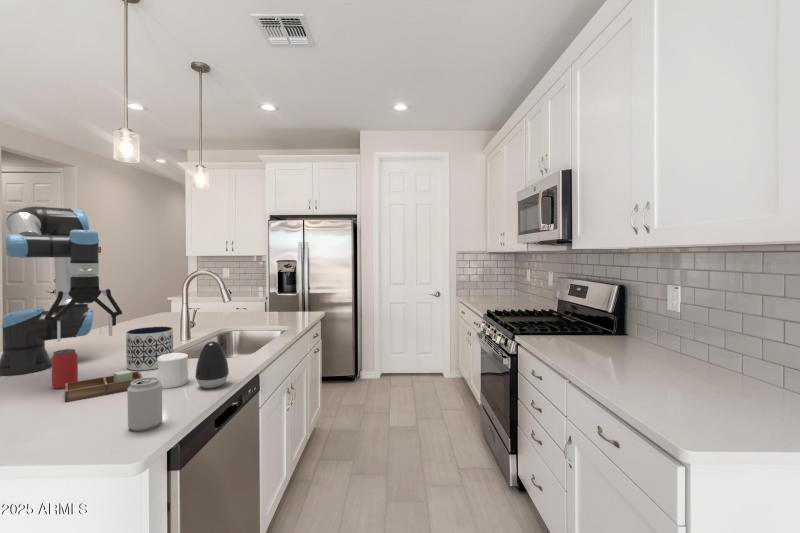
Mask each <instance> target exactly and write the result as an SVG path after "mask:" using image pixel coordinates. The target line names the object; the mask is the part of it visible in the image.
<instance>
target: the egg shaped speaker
mask: <svg viewBox="0 0 800 533" xmlns="http://www.w3.org/2000/svg"><path fill="white" fill-rule="evenodd" d="M225 345H226V341H225V340H223V341H221V342H217V341H214V340H213V341H208V342H207V343H205V344H204V345H203V347H202V349H201V351H200V353H199V356H198V359H197V361H196V362H197V363H196V367H195V375H194V376H195V379H196V382H197V384H198V385H199V386H200V387H201V388H204V389H216V388H218V387H221V386H222V385H223V384H225V382H227V379H228V376H229V374H230V371H229V363H228V358H227V357H226V353H225V351H224V349H223V346H225Z"/></svg>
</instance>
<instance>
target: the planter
mask: <svg viewBox="0 0 800 533" xmlns="http://www.w3.org/2000/svg"><path fill="white" fill-rule="evenodd" d="M125 337H126V338H125V341H126V342H125V346H126V348H125V350H126V351H125V353H126V354H125V355H126V356H125V358H126V368H127V370H129V371H130V370H131V371H135V372H140V371H152V370H158V361H157V359H158V357H159V356H161V355H164V354H169V353H174V328H173V327H171V326H147V327H140V328H134V329H129V330H127V331H126V332H125Z"/></svg>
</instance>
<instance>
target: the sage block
mask: <svg viewBox="0 0 800 533" xmlns="http://www.w3.org/2000/svg"><path fill="white" fill-rule="evenodd" d="M113 376H114V383H116V382H122V381H128V380H133V371H132V370H131V371H130V369H125V370H121V371H117V372H116V371H115V372H113Z"/></svg>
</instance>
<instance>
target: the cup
mask: <svg viewBox="0 0 800 533" xmlns="http://www.w3.org/2000/svg"><path fill="white" fill-rule="evenodd" d="M188 358H189V355H188V354H187V353H183V352H173V353H169V354H164V355H161V356H159V357H158V359H157V361H158V369H157V373H156V374H157V376H156V378H159V382H160V383H162V389H174V388H179V387H182V386H185V385H187V383H188V380H189V369H188Z"/></svg>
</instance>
